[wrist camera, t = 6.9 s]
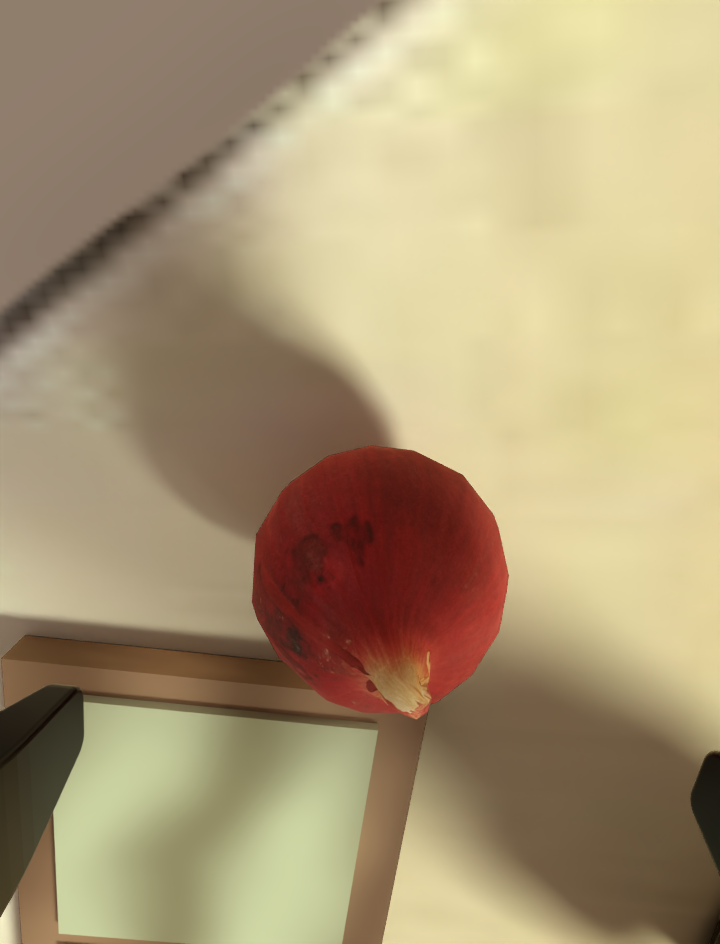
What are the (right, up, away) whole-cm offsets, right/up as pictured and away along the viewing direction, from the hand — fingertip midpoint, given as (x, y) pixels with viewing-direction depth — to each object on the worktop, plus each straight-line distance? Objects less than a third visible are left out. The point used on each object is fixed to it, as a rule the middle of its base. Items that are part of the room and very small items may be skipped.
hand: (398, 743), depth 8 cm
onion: (0, +3, +9) cm, 9 cm away
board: (-6, -13, +13) cm, 19 cm away
